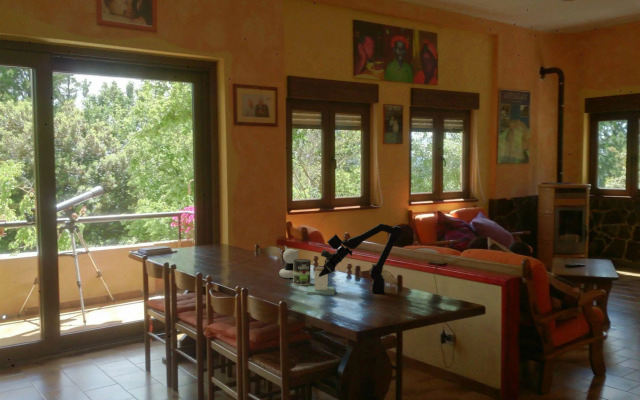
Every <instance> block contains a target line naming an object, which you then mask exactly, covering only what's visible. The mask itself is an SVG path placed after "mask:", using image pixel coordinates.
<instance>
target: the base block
mask: <svg viewBox="0 0 640 400" xmlns="http://www.w3.org/2000/svg"><path fill="white" fill-rule="evenodd" d="M335 293H336V292H335V286H327V291H320V290H315V285H312V286H311V285H307V291H306V295H316V294H322V295H323V296H324V295H325V296H330V295H331V296H335Z"/></svg>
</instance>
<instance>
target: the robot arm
mask: <svg viewBox="0 0 640 400" xmlns="http://www.w3.org/2000/svg"><path fill="white" fill-rule="evenodd" d="M381 232H384V233H387V234H388V239H387V241H386V243H385V245H384V247H383V248H382V249H383V250H382V251H381V253H380V255H379V257H378V259H377V261H376V262H375V264H374V263H372V264H371V268H369V275H370V278H371V279H372V283H371V292H372V294H375V295H379V294H380V295H385V285H386V284H385V283H386V282H385V277H384V275H382V273H383V270H384V265H385V263H386V261H387V259H388V257H389V255H390V253H391V250H393V248H394V247H393V246H394V245H395V243H396V242H397V241H398V240H399V239H400V237H401V236H402V233H403V230H402V228H401V227H400V226H398V225H393V226H392V225H390V224H385V223H382V222H380V223H378V224H377V225H376V226H374V227H372V228H370V229H368V230H366V231H364V232H363V233H360V234H358V235H354V236H352V237H350V238H348V239H343V240H342V239H341V238H340V237H339V235H337V234H336V233H335V234H334V235H333V236H331V237H330V238H329V239H328V240H327V241H326V243H327V244H328V245H329V246H330V248H332V249H333V250H335V252H330V251H328V250H326V249H322V252H321V253H320V256H321V257H323V258H325V259H324V264H323V266H322V267H324V269H323V270H322V271H321V273H320V274H319V277H321V276H324V275H326V274H328V275H329V274H332V273H334V272H335V271H336V267H337V266H338V265H339V264H340V263H341V262H342V261H343V260H344V259H345V258H346V257H347V256H348V255H350V256H351V257H352V256H353V250H354V249H357V248H358V247H359V246H360V245H361V244H362V243H363V242H364V241H366V240H368V239H370V238H372V237H373V236H376V235H377V234H379V233H381Z"/></svg>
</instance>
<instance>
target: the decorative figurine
mask: <svg viewBox="0 0 640 400" xmlns="http://www.w3.org/2000/svg"><path fill="white" fill-rule="evenodd" d="M284 249H285V250H284V252H283V253H282V257H283V258H282V259H283V260H284V262H285V263H286V265H285V267H284V268H282V269H280V270H279V276H280V277H281V278H285V279H290V278H293V273H294V261H293V260H295V259H299V254H298V253H299V250H300V248H299V249H294V248H288V247H287V246H286V245H284Z"/></svg>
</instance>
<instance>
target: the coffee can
mask: <svg viewBox="0 0 640 400" xmlns="http://www.w3.org/2000/svg"><path fill="white" fill-rule="evenodd" d="M293 261H294V273H293V280H292V281H293V282H292V284H293V285H296V286H310V285H311V264H312V263H311V262H312V260H311V259H307V258H298V259H295V260H293Z"/></svg>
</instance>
